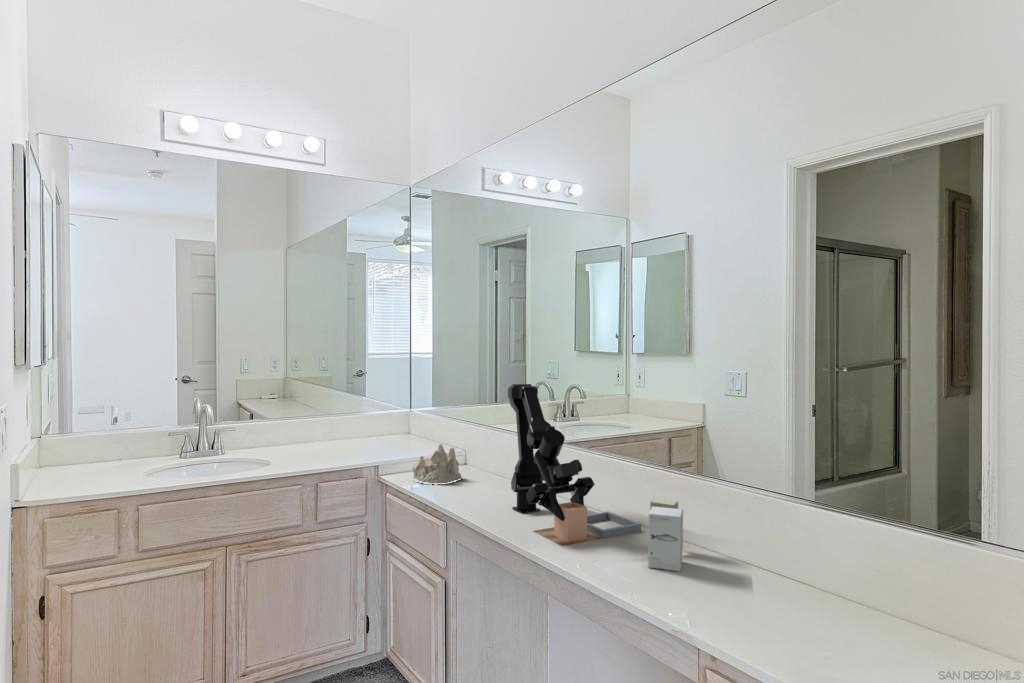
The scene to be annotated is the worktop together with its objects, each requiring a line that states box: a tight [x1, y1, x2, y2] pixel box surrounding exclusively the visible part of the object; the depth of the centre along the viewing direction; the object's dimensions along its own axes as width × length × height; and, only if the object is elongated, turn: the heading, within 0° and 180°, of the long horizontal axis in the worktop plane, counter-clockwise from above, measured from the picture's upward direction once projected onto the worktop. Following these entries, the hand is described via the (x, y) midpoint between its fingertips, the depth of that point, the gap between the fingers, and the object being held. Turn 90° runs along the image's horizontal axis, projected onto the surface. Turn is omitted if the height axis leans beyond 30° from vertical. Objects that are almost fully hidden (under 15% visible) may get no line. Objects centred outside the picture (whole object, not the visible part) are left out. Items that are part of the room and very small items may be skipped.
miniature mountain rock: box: [412, 443, 463, 483], centre depth 231 cm, size 16×16×15 cm
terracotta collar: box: [553, 501, 588, 542], centre depth 159 cm, size 8×6×8 cm
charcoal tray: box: [587, 511, 642, 539], centre depth 167 cm, size 14×13×3 cm
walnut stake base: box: [532, 527, 602, 547], centre depth 161 cm, size 14×12×8 cm
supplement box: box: [647, 506, 684, 573], centre depth 143 cm, size 7×7×13 cm
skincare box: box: [649, 497, 679, 511], centre depth 153 cm, size 6×4×12 cm
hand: (573, 518), depth 158 cm, fingers closed on terracotta collar, 6 cm apart
